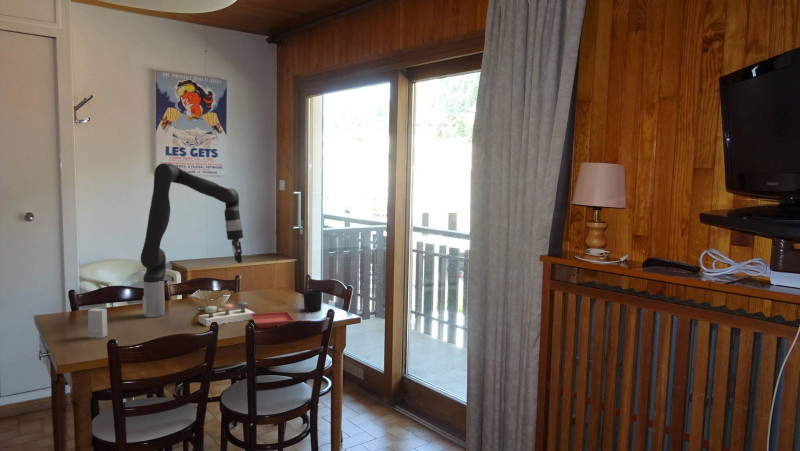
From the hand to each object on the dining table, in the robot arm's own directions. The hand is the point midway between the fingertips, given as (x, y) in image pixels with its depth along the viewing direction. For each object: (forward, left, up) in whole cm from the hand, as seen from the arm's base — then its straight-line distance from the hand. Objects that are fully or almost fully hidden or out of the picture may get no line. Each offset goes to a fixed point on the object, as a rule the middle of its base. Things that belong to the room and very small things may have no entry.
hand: (238, 261), depth 274 cm
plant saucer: (+8, -20, -28) cm, 35 cm away
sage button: (-15, -4, -25) cm, 30 cm away
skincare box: (-62, +1, -28) cm, 68 cm away
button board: (-7, -4, -27) cm, 29 cm away
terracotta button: (-7, -4, -25) cm, 26 cm away
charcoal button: (+1, -4, -25) cm, 25 cm away
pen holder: (+37, -10, -28) cm, 47 cm away
